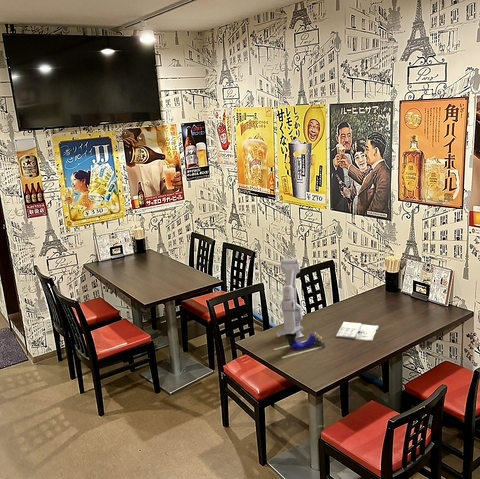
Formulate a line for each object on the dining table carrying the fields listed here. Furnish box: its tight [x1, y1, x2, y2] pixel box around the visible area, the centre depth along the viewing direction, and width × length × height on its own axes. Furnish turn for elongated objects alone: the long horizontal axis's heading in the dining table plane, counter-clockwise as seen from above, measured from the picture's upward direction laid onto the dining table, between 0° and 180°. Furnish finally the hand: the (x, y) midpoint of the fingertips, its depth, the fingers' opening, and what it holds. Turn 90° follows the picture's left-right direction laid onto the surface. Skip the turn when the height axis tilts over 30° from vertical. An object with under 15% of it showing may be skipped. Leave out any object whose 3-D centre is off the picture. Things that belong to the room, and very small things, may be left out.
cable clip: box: [291, 333, 316, 351], centre depth 261 cm, size 12×4×6 cm, turn 95°
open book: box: [335, 321, 380, 342], centre depth 273 cm, size 19×20×2 cm
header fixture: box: [273, 332, 326, 360], centre depth 260 cm, size 11×24×5 cm, turn 110°
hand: (291, 345), depth 258 cm, fingers closed
